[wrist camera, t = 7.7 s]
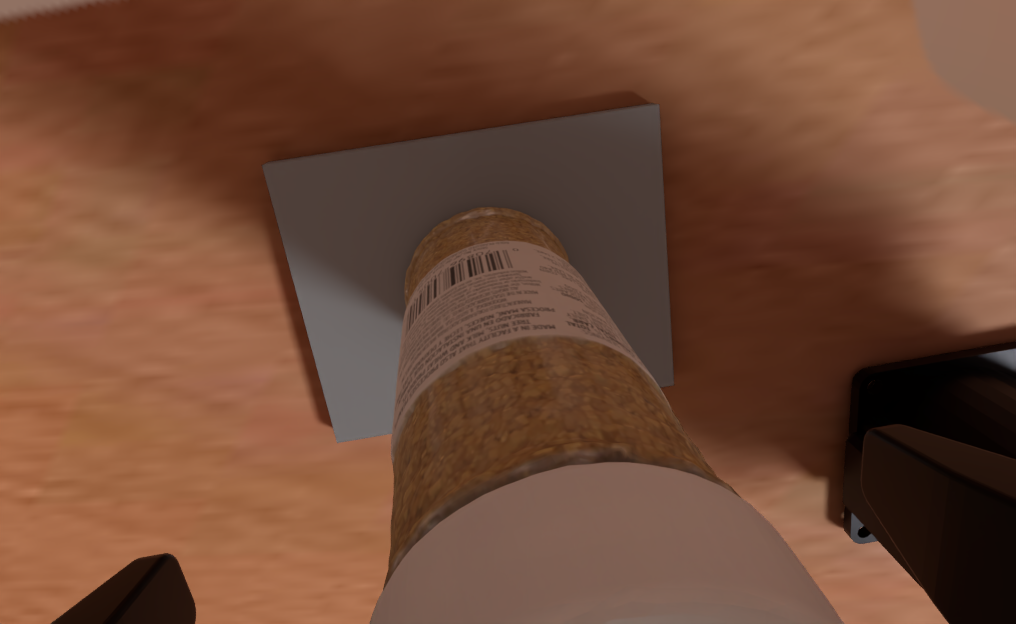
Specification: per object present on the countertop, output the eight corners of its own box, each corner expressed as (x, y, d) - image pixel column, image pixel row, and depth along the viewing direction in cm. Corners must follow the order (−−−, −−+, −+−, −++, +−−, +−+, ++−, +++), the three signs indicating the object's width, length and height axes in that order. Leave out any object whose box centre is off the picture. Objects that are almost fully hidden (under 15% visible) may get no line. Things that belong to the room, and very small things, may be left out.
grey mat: (651, 103, 17) (658, 104, 16) (667, 376, 20) (674, 385, 19) (268, 162, 17) (261, 165, 16) (340, 432, 19) (337, 442, 19)
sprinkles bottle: (435, 380, 18) (448, 1059, 6) (380, 230, 17) (236, 743, 4) (589, 333, 18) (926, 914, 6) (550, 178, 17) (912, 537, 4)
